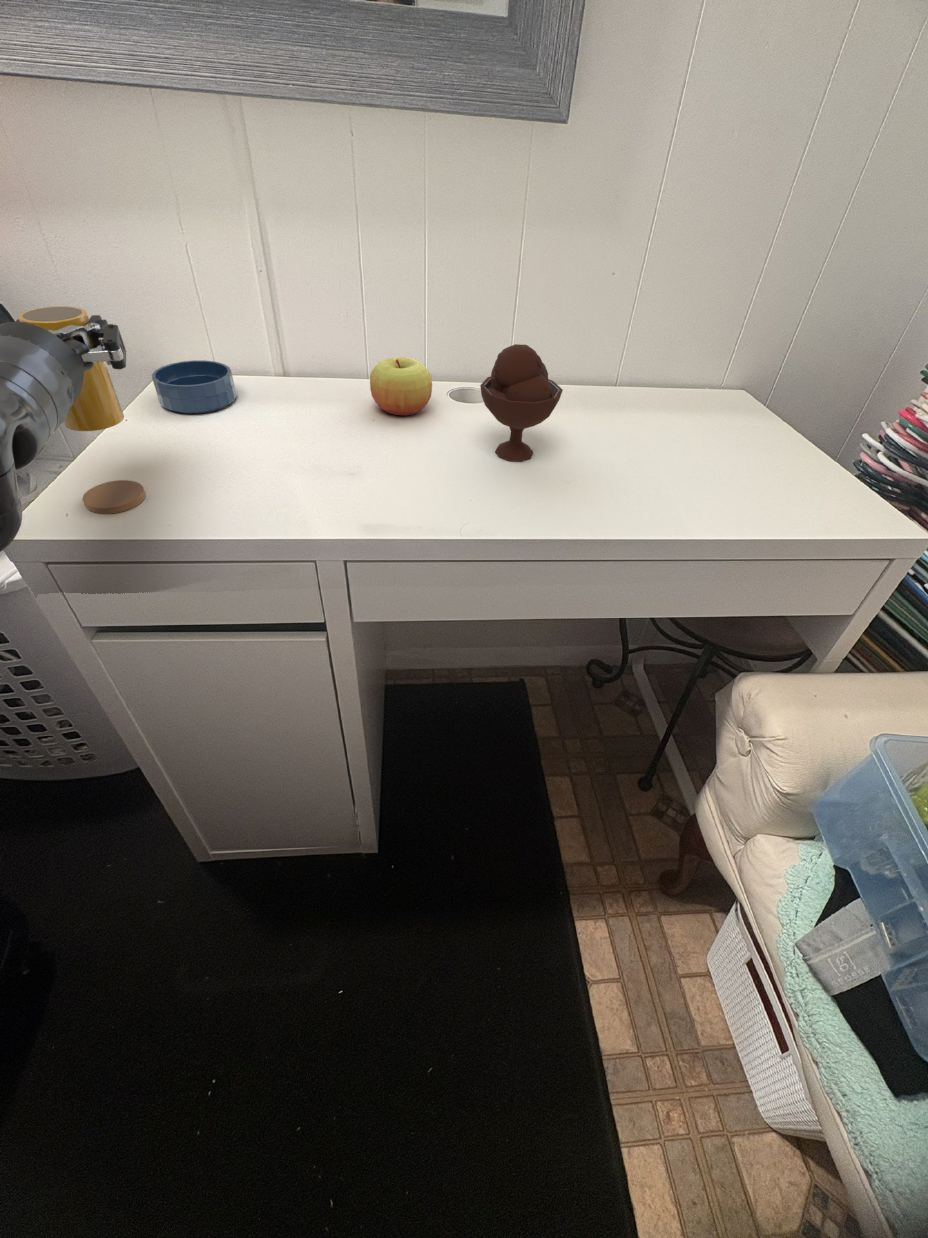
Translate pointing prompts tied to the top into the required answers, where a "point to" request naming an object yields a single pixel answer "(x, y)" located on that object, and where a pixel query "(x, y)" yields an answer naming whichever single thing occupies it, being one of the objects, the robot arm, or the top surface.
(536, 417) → the ice cream bowl
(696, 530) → the top surface
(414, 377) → the apple
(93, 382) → the cup
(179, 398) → the bowl
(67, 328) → the robot arm
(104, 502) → the coaster
